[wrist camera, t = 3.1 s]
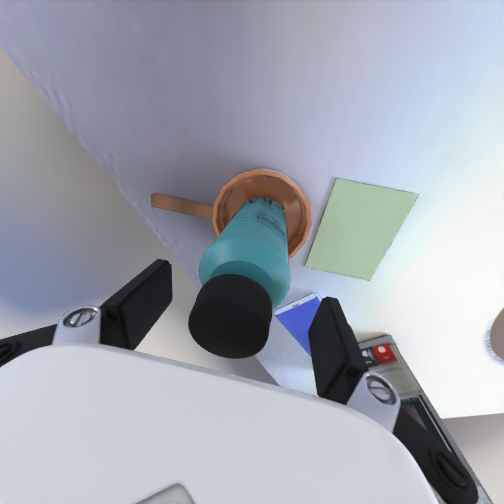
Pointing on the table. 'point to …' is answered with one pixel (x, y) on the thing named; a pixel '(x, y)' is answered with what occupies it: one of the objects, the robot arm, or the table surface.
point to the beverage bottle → (242, 281)
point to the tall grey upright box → (412, 395)
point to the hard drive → (299, 318)
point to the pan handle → (182, 205)
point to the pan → (268, 186)
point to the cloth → (358, 228)
